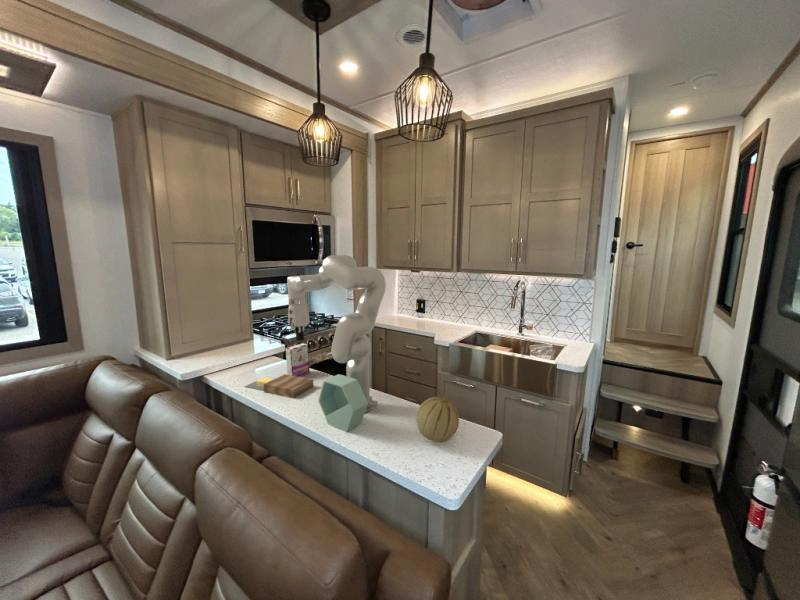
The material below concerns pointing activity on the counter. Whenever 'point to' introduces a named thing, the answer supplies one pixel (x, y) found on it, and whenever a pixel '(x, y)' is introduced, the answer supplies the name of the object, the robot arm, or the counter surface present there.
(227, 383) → the counter surface
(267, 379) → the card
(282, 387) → the block
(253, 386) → the mat
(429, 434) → the cantaloupe
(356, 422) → the planter
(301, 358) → the candy bar box
